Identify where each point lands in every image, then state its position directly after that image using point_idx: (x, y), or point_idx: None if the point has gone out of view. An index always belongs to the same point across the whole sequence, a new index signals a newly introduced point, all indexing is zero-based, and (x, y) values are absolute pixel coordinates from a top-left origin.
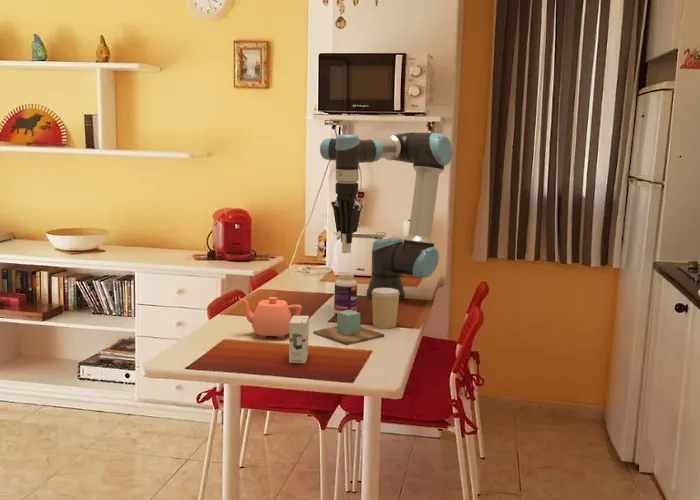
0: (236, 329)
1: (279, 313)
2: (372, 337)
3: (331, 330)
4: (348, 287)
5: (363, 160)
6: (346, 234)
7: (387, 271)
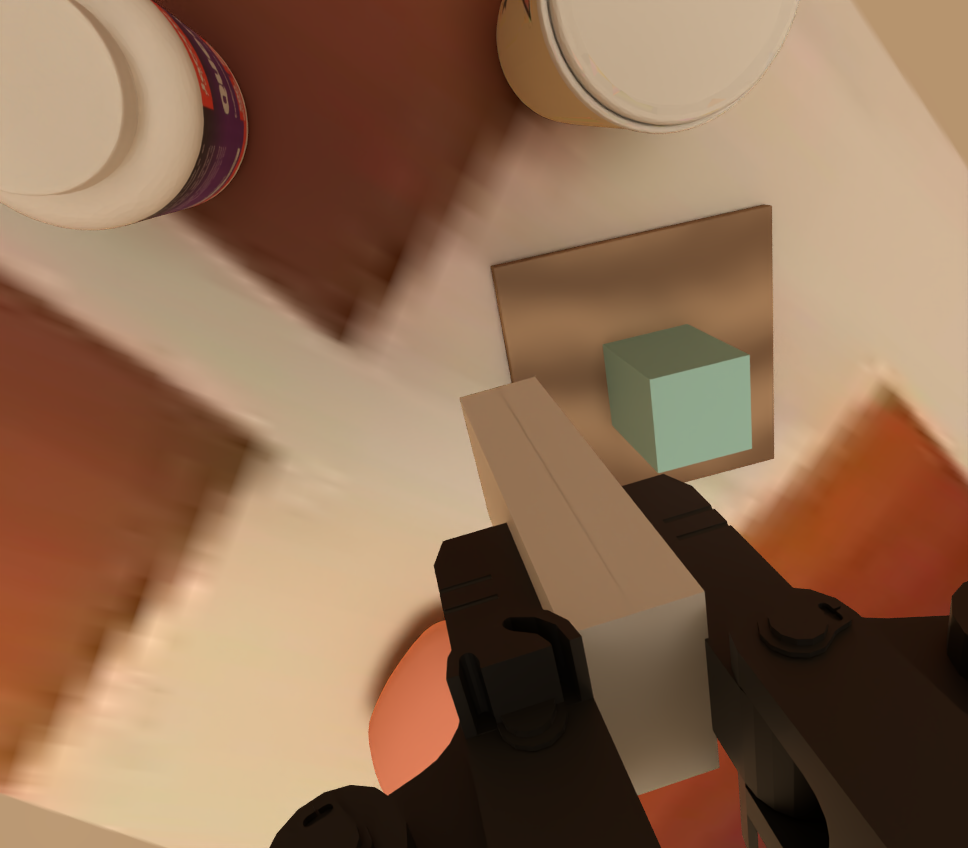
0: (326, 779)
1: None
2: (770, 293)
3: None
4: (202, 139)
5: None
6: (709, 719)
7: None
